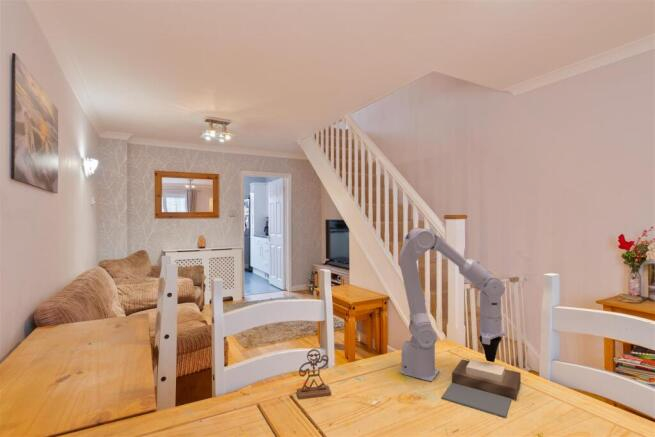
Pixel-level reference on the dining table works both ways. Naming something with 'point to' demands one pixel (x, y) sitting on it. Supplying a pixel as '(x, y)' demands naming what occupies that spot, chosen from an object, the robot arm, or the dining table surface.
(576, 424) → the dining table surface
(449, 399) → the mat
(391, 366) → the dining table surface
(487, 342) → the robot arm
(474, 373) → the tile
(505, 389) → the block
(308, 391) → the gingerbread man figurine
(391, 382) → the dining table surface
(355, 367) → the dining table surface
